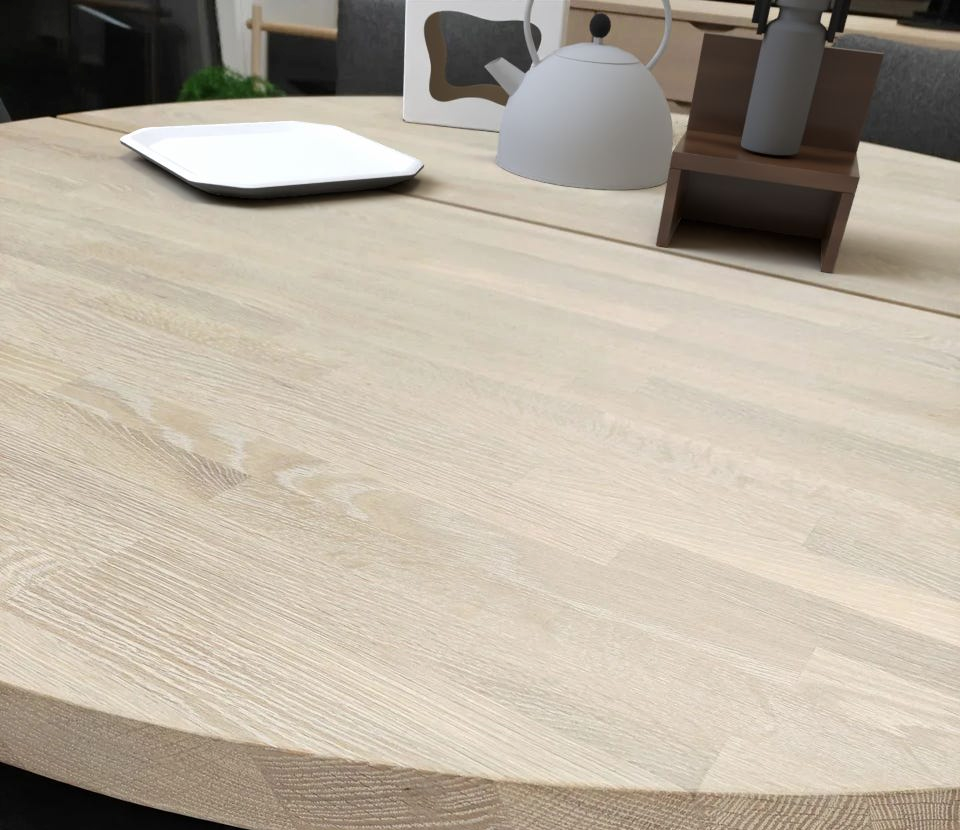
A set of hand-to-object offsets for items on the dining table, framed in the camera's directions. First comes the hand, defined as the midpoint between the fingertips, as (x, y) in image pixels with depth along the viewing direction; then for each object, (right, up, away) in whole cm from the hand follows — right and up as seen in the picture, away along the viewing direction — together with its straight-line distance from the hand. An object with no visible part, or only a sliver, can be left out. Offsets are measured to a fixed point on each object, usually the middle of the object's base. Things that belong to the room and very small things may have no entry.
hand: (795, 35), depth 95 cm
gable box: (-30, +20, +55) cm, 66 cm away
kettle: (-18, +4, +35) cm, 40 cm away
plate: (-54, -3, +22) cm, 59 cm away
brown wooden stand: (-1, -15, +12) cm, 19 cm away
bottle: (-1, -8, +6) cm, 10 cm away
